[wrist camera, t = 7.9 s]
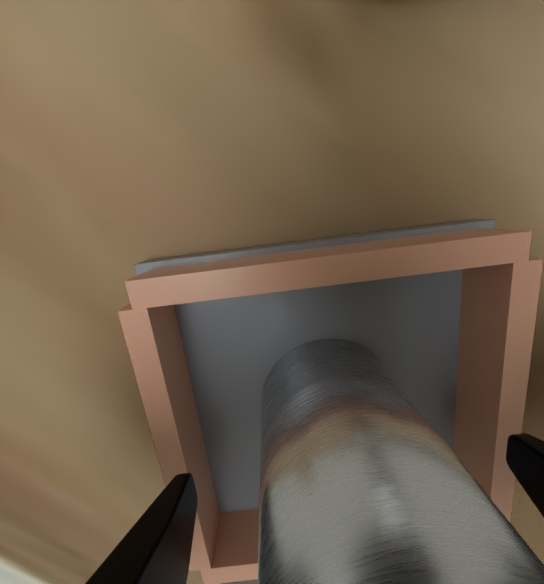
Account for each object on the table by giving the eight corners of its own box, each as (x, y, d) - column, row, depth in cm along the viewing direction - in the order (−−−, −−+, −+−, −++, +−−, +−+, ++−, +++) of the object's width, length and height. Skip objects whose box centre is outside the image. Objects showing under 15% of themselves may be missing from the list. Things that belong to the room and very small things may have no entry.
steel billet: (392, 444, 12) (572, 767, 5) (269, 459, 12) (276, 801, 5) (390, 330, 10) (634, 551, 3) (252, 347, 10) (229, 597, 4)
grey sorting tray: (448, 644, 16) (487, 736, 14) (242, 667, 17) (238, 763, 14) (473, 219, 10) (555, 220, 7) (146, 260, 10) (100, 276, 8)
